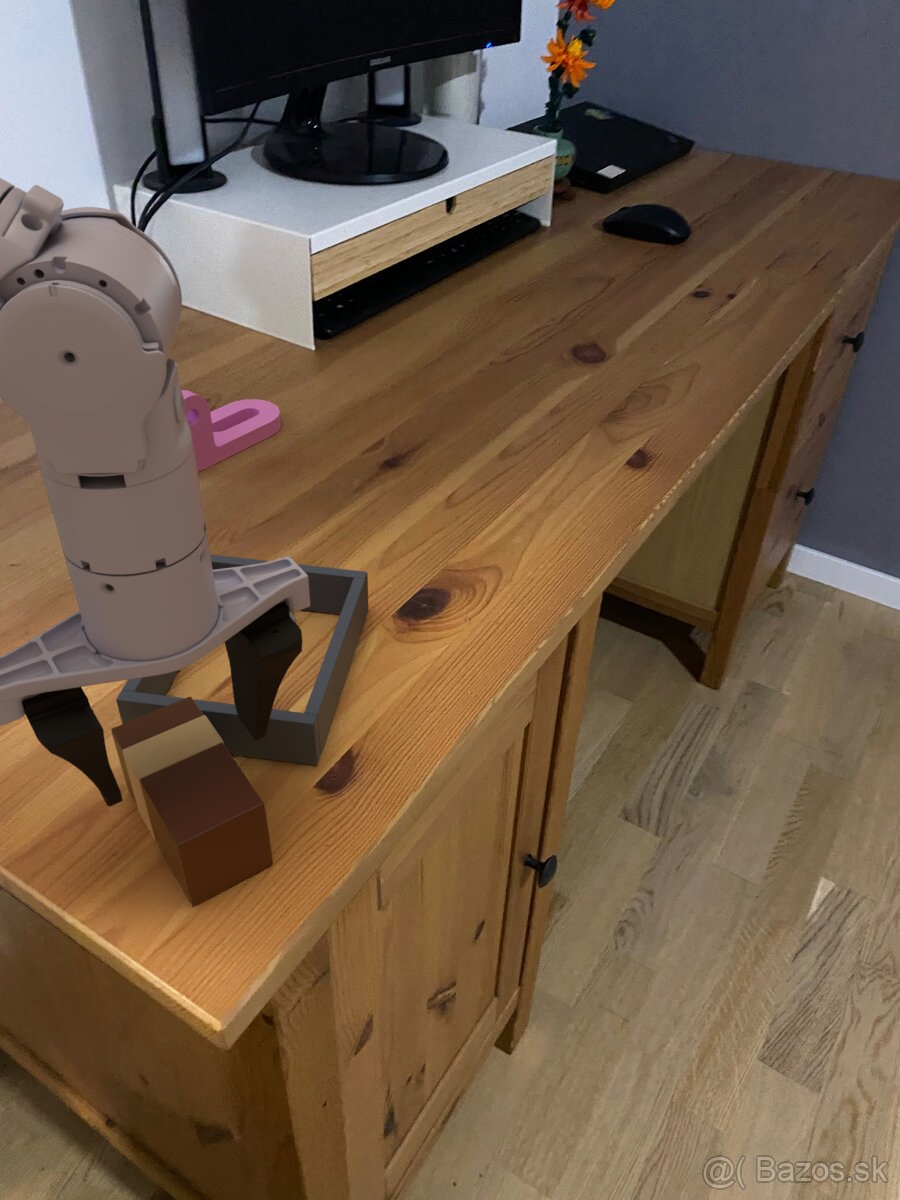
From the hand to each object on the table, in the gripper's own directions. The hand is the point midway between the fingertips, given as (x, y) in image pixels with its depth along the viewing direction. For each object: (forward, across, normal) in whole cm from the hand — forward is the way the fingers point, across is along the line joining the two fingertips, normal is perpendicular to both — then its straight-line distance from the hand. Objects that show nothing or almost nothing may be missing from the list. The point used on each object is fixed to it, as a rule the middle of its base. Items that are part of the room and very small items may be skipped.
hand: (183, 757), depth 46 cm
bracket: (+6, -19, -39) cm, 44 cm away
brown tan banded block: (+5, 0, 0) cm, 5 cm away
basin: (+6, -8, -9) cm, 14 cm away
